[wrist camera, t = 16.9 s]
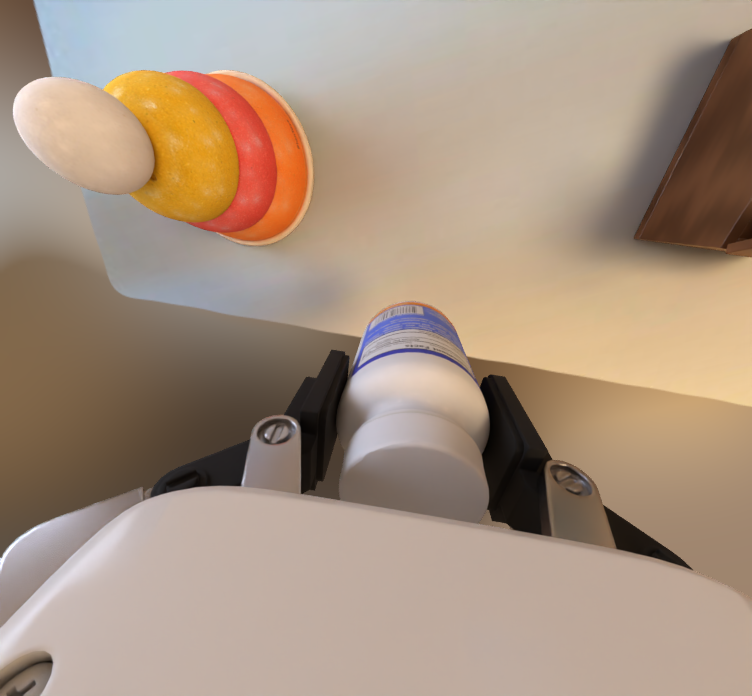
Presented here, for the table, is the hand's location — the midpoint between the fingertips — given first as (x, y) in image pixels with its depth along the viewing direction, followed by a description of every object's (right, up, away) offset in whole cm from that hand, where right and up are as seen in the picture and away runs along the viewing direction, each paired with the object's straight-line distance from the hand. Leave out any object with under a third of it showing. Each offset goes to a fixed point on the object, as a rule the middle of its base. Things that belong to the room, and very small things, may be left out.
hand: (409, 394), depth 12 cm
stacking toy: (-14, +20, +18) cm, 30 cm away
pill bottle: (0, +2, +5) cm, 5 cm away
